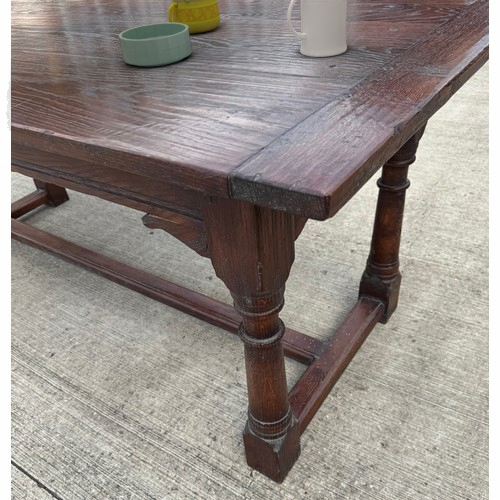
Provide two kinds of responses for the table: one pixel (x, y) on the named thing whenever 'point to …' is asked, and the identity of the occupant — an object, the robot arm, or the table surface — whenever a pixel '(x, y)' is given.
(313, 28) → the mug
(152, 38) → the bowl
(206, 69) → the table surface
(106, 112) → the table surface
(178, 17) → the mug
